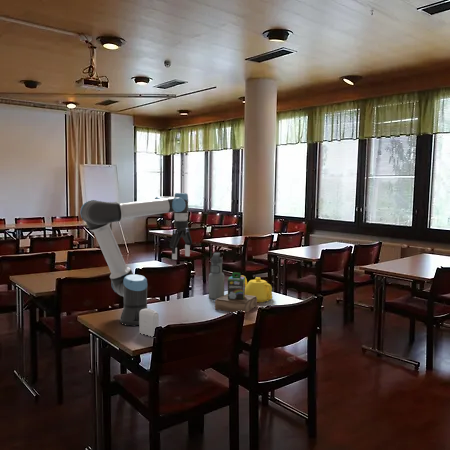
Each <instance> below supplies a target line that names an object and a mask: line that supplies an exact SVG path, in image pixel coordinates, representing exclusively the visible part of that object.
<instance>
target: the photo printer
mask: <svg viewBox="0 0 450 450" xmlns="http://www.w3.org/2000/svg"><path fill="white" fill-rule="evenodd" d="M159 321H160V319H159V313H158V311H156V310H154V309H152V308H148V307H147V308H146V309H142V310H140V312H139V326H138V327H139V328H138V329H139V331H138V333H139V334H140V333H141V334H140V335H143V334H145V335H144V336H146V335H148V336H147V337H150V336H151V338H154V337H153V336H154V331H155V328H156V327H160V324H159V323H160V322H159Z"/></svg>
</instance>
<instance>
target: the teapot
mask: <svg viewBox="0 0 450 450" xmlns="http://www.w3.org/2000/svg"><path fill="white" fill-rule="evenodd" d="M241 277H245V295H251V296H256V297H257V303H266V302H265V301H267V302H269V301H270V300H272V299H273V293H272V292H273V287H272V284H270V283H268V281H266V280H264V279H261V277H260V276H259V277H257V276H256V277H255V278H254V279H250V280H249V281H248V280H247V278H246V276H245V275H242V274H241Z"/></svg>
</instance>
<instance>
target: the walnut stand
mask: <svg viewBox="0 0 450 450" xmlns="http://www.w3.org/2000/svg"><path fill="white" fill-rule="evenodd" d="M214 300H215V301H214V310H217V311H222V312H224V311H225V312H229V313H235V312H236V311H238V310H242V311H245V312H246V313H248V312H249V310H250V309H251V310H253V309H254V307H255V308H257V307H258V302H257V297H256V296H251V295H245V297H244V299H243V300H239V299H228V293H226V294H224V296H221V297H219V298H217V299H214ZM256 306H257V307H256ZM252 308H253V309H252ZM251 310H250V311H251ZM247 311H248V312H247Z"/></svg>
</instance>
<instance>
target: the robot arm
mask: <svg viewBox="0 0 450 450" xmlns="http://www.w3.org/2000/svg"><path fill="white" fill-rule="evenodd" d="M166 213H167V214H169V213H174V228H176V229H172V235H171V238H170V242H169V248H170V249H171V260H176V261H177V260H178V247H177V246H178V244H179V242H180V239H181V238H182V239H183V241H184V243H185V245H184V256H185V257H190V256H191V255H190V254H191V251H190V250H191V249H190V248H191V246H192V244H193V240H192V236H191V232H190V228H189V221H188V219H189V214H188V213H189V195H188V193H187V192H175V193H174V195H173V196H156V197H155V198H154V199H149V200H141V201H139V200H138V201H132V202H122V203H120V202H119V201H112V202H111V201H109V202H107V201H101V200H100V201H99V200H95V199H92V200H88V201H86V202H84V203H83V204H82V206H81V207H80V212H79V214H80V218H81V219H82V220H83V221H84V222H85V224H86V226H87V228H88V231H90V232H92V233H93V234H94V236H95V239H96V241H97V243H98V246H99V248H100V250H101V252H102V254H103V257H104V260H105V262H106V263H107V266H108V269H109V271H110V275H109V278H110V281H111V289H112V290H113V291H114V293H116V294H117V295H119V296H120V297H123V309H122V311H121V316H120V318H119V319H120V320H119V323H120V322H121V323H123V324H126V325H139V312H140V310H142V309H146V308H148V279H147V278H146V277H145V276H144V275H141V274H134V272H133V271H132V269H131V267H129V266H127V263H126V261H125V260H124V256H123V254H122V252H121V249H120V247H119V244H118V242H117V240H116V238H115V235H114V232H113V231H112V227H111V224H112V223H117V222H121V221H122V220H123V219H131V218H138V217H144V216H145V217H147V216H151V215H152V216H153V215H159V214H166ZM121 323H120V324H121ZM126 325H125V326H126Z"/></svg>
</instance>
